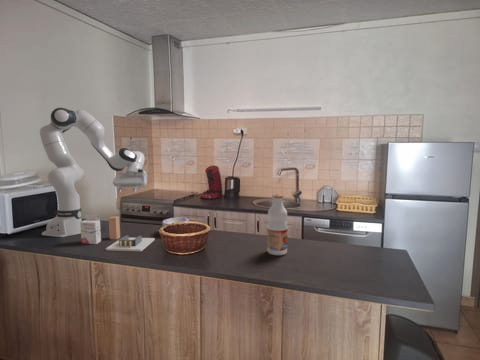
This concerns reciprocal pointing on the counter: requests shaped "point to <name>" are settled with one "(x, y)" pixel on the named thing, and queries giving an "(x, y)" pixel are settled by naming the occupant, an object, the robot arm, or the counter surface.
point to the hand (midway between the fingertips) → (126, 191)
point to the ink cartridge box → (91, 230)
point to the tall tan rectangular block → (114, 227)
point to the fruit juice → (277, 227)
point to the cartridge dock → (130, 244)
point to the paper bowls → (174, 221)
